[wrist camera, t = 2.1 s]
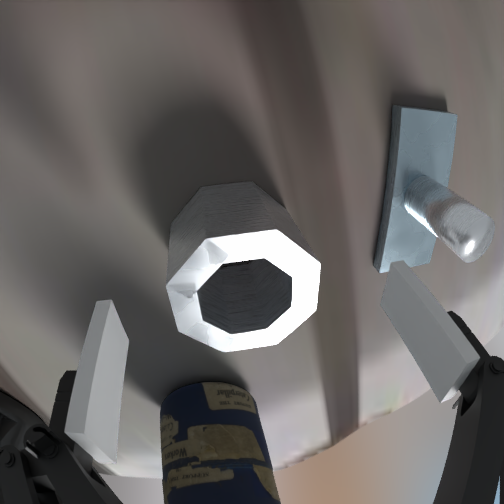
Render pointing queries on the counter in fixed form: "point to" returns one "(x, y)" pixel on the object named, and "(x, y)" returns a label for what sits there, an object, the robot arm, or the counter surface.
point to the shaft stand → (426, 194)
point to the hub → (239, 269)
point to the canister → (214, 447)
